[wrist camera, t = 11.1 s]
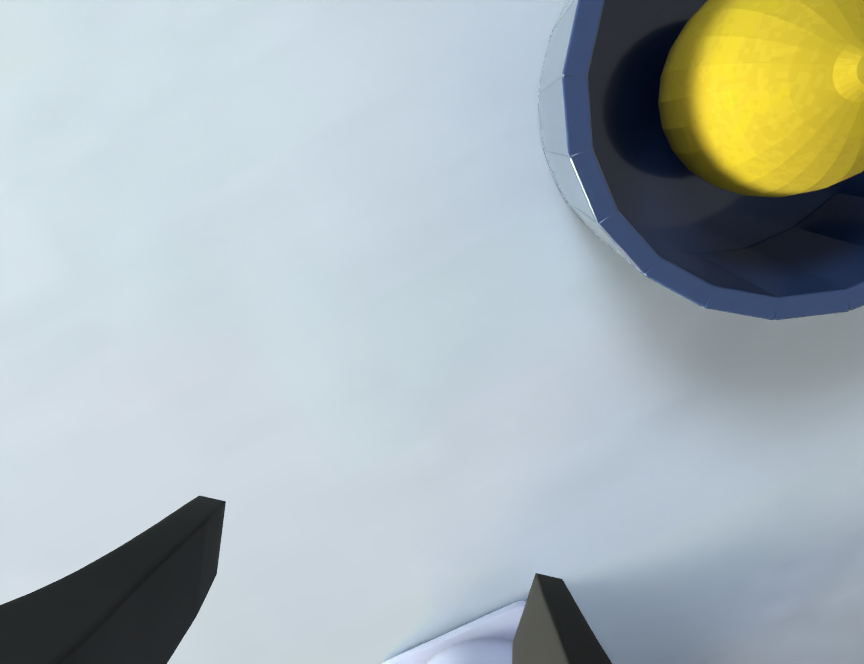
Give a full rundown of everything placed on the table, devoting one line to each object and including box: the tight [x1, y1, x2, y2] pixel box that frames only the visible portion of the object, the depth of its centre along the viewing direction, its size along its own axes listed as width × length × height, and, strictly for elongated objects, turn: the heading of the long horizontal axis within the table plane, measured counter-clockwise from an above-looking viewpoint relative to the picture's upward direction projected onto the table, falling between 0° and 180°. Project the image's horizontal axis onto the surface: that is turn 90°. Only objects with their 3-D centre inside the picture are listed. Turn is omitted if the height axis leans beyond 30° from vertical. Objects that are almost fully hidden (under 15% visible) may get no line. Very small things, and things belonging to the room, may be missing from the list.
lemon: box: [658, 0, 864, 197], centre depth 15 cm, size 6×6×8 cm
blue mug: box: [538, 0, 864, 320], centre depth 16 cm, size 14×11×6 cm
